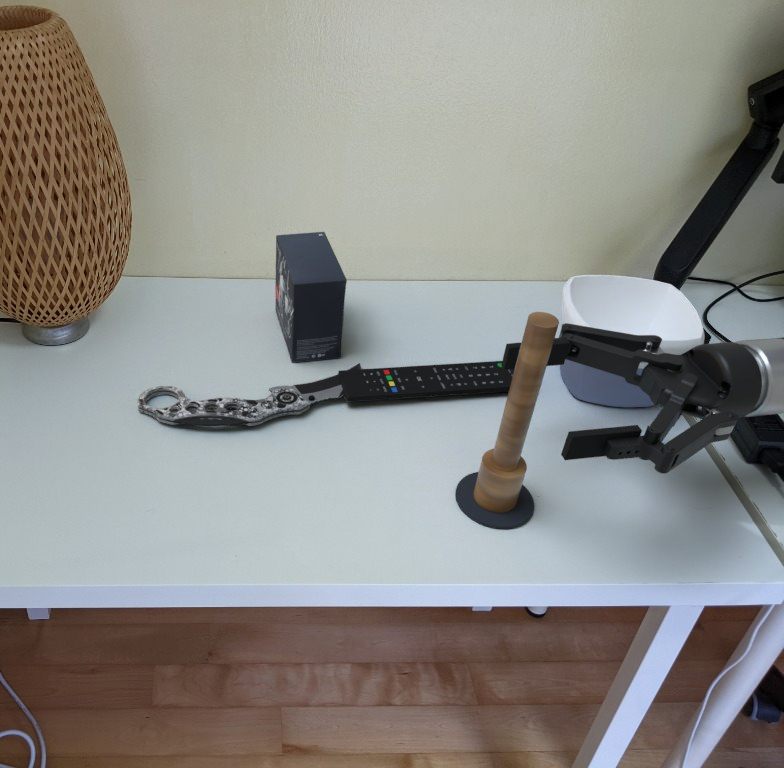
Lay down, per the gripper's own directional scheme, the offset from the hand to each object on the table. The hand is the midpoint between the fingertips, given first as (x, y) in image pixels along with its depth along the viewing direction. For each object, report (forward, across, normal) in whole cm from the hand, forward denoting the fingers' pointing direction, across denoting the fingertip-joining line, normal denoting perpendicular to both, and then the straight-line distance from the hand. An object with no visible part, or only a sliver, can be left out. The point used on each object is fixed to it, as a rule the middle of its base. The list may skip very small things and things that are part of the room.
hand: (533, 398), depth 73 cm
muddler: (+1, 0, -13) cm, 13 cm away
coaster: (+1, 0, -13) cm, 13 cm away
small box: (+15, +33, -14) cm, 39 cm away
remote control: (+1, +19, -13) cm, 23 cm away
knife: (+24, +19, -14) cm, 33 cm away
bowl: (-21, +18, -14) cm, 30 cm away
